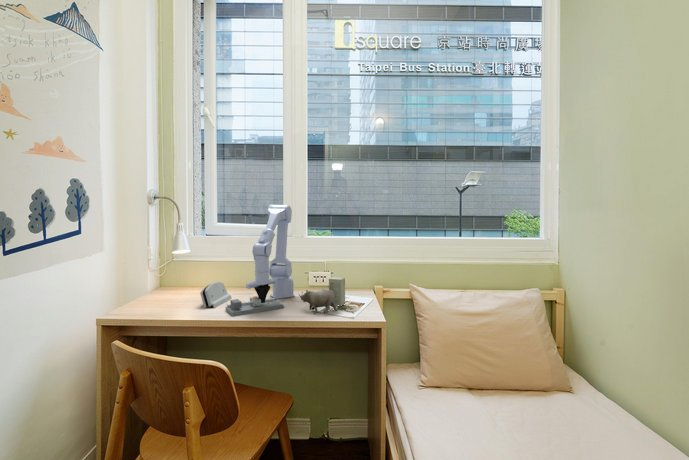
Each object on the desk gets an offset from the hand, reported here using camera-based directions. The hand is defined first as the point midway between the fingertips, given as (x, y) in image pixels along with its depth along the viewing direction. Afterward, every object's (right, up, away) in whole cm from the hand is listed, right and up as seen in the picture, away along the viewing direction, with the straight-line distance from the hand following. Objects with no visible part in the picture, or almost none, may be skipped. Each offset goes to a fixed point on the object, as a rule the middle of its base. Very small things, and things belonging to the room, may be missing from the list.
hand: (262, 302), depth 159 cm
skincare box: (+32, -3, +6) cm, 33 cm away
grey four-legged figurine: (+24, -3, -3) cm, 24 cm away
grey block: (-3, -1, -2) cm, 3 cm away
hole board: (-3, -3, -2) cm, 4 cm away
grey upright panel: (-23, -2, +8) cm, 24 cm away
